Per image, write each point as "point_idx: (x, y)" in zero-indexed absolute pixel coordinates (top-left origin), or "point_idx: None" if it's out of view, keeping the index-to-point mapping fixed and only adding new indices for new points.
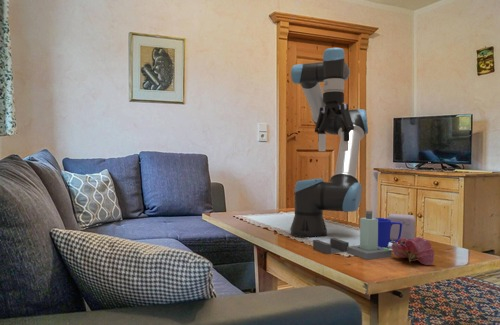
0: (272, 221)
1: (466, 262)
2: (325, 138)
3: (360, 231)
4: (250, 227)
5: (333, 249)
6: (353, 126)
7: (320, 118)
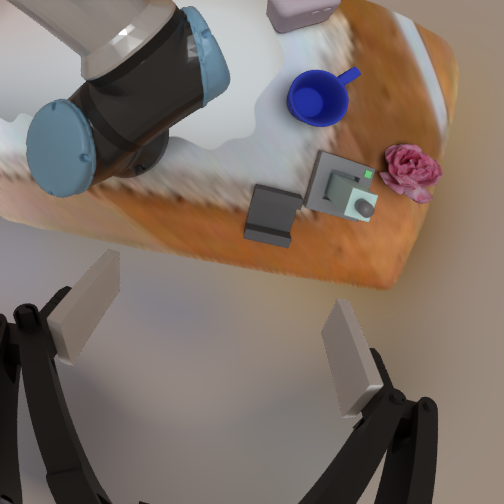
0: (11, 125)
1: (444, 106)
2: (79, 303)
3: (336, 205)
4: (36, 198)
5: (272, 206)
6: (436, 414)
7: (14, 459)
